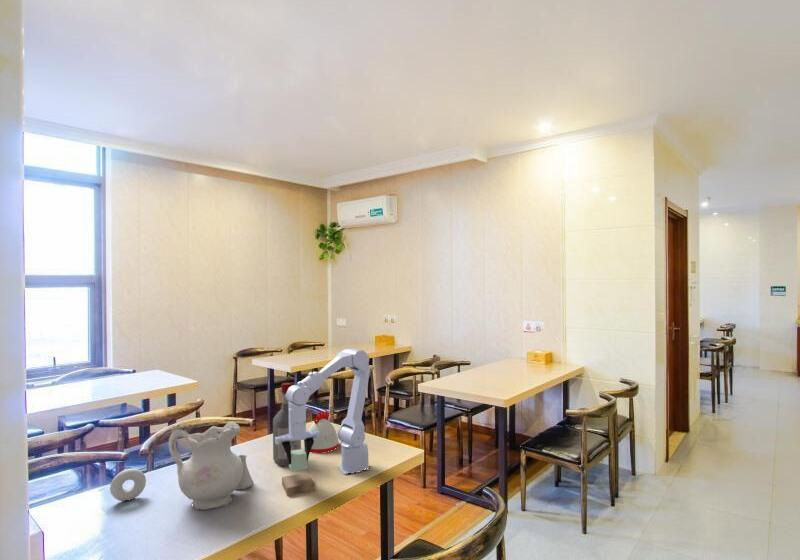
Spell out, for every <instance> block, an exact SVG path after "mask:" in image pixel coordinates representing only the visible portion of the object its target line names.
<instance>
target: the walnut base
mask: <svg viewBox="0 0 800 560" xmlns="http://www.w3.org/2000/svg"><path fill="white" fill-rule="evenodd" d="M281 485H282V488H283V490H284V493H285V494H286V497H289V496H294V495H299V494H303V493H308V492H313V491H315V481H314V479H313V478H312V476H311V475H310V473H309V471H308V472H302V473H297V474H291V475H286V476H281Z"/></svg>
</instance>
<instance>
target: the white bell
mask: <svg viewBox="0 0 800 560" xmlns="http://www.w3.org/2000/svg"><path fill="white" fill-rule="evenodd" d="M330 413H331V412H328V410H326V409H325V410H322V411H318V414H317V415H315V418H312V420H313V423H312V424H311V425H310V426H309V428H308V429H307V431H319V438H313V440H314V444H313V446H312V448H311V450H310V453H311V452H312V454H323V453H322V452H326V453H329V452H328V451H331V450H333V451H335V450H334V449H335V448H337V447H338V448H339V446H338V445H339V438H338V433H337V431H336V429H335V426H334V425H333V423H331V421H329V417H330ZM338 448H337V449H338ZM331 452H332V451H331Z"/></svg>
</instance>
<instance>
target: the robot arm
mask: <svg viewBox="0 0 800 560" xmlns="http://www.w3.org/2000/svg"><path fill="white" fill-rule="evenodd" d="M369 362H370V356H369V355H368V353H367V352H366V351H364V350H363V349H362V350H361V349H356V348H351V347H345V348H344V349H342V351H339V352H338V353H337V355H336V356H335V358H333V359H331V361H329V362H328V363H327V364H325V366H324V367H322V368H321V369H320V370H319V371H313V372H312V371H310V372H309V373H307V376H306V377H305V378H303V379H302V380H301V381H298V382H297V383H296V384H293V385H291V387H289V389H288V390H287V393H286V394H285V397H286V399H287V400H288V403H289V434H286V435H282V436H278V437H275V443H276V445H277V444H279V443H282V445H283V447H284V450H285V452H286V455H287V460H288V464H291V445H290V442H292V441H298V440H301V441H303V444H304V451H305V452H306V453H307V462H308V461H309V456H310V453H311V452H310V450H311V448H312V446H313V444H314V440H313V438H319V431H308V430H307V402H308V401H309V399H310V397H311V396H312V394H314V393H315V392H316V391H317V390H319V389H320V388H321V387H322V386H324V385H325V380H326V379H328V378H329V377H330V376H332V375H334V373H336V372H338V371H339V370H340V369H342V368H349V369H350V370H351V372H352V373H353V374H354V377H353V382H352V386H351V392H350V398H349V403H348V408H347V414H346V416H345V418H343V420H342V421H341V425H340V427H339V429H338V430H337V437H338V440H340V444H341V464H338V466H337V467H338V469H339V470H340V471H341V472H342V474H343V475H345V474H346V475H349V474H348V473H351V474H354V473H353V472H356V473H359V472H358V471H361V472H363V471H362V470H364V469H365V468H366V469H367V468H369V449H368V445H367V443H365V439H366V433H365V430H366V429H365V425H364V422H363V421H362V417H363V412H364V408H365V400H366V396H367V391H368V390H367V389H368V385H369V378H370V373H371V370H370V364H369ZM366 469H365V470H366ZM366 471H367V470H366Z"/></svg>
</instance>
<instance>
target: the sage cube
mask: <svg viewBox="0 0 800 560" xmlns="http://www.w3.org/2000/svg"><path fill="white" fill-rule="evenodd" d="M307 462H308V461H307V453H306V452H305V448H301V449H299V450H293V451H291V464H289V466H288V467H289V469H290V471H291V472H296V471H300V470H305V469H306V470H307V468H308V463H307Z"/></svg>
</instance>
